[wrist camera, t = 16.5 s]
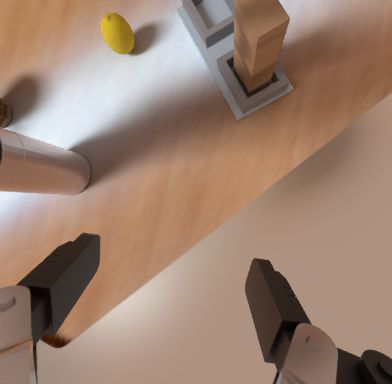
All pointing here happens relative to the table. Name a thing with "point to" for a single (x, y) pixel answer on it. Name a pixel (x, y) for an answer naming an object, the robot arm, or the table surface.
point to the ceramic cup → (5, 114)
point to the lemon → (117, 33)
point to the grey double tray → (226, 54)
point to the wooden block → (257, 41)
